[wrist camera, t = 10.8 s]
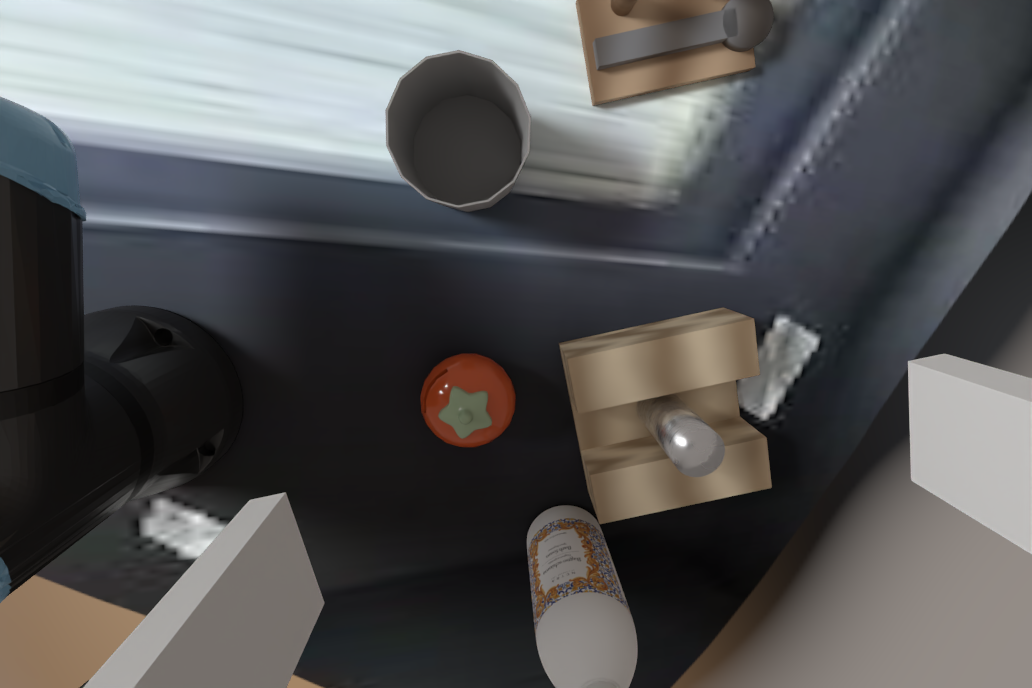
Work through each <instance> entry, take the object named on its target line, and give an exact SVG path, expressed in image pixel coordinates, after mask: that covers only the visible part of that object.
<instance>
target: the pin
mask: <svg viewBox="0 0 1032 688" xmlns="http://www.w3.org/2000/svg"><path fill="white" fill-rule="evenodd" d="M637 413H638V416H639V418H640V419H641V421H642V422H643V423H644V425H645V426H646V427H647V429H648V430H649V431H650V433H651V434H652V435H653V437H654V438H655V439H656V441H657V442H658V443H659V445H660V446H661V447H662V449H663V450H664V452H665V453H666V454H667V456H668V457H669V458H670V460H671V461H672V462H673V464H674V465H675V466H676V468H677V469H678V470H679V471H680V472H681V473H683V474H685V475H687V476H690V477H702V476H706V475H708V474H710V473H712V472H713V471H715V470H716V469H717V468H718V467H719V466H720V464H721V463H722V461H723V458H724V455H725V445H724V442H723V440H722V438H721V437H720V436H719V435H718V434H717V433H716V432H715V431H714V430H713V429H712V428H711V427H710V426H709V425H708V424H707V423H706V422H704V421H703V420H702V419H701V418H700V417H699V416H698V415H697V414H696V413H695V412H694V411H693V410H692V409H691V408H690V407H689V406H687V405H686V404H685V403H684V402H683V401H682V400H681V399H680V398H679V397H678V396H677V395H676V394H675V393H673V394H669V395H664V396H659V397H655V398H650V399H645V400H641V401H638V403H637Z"/></svg>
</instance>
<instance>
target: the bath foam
mask: <svg viewBox="0 0 1032 688" xmlns="http://www.w3.org/2000/svg"><path fill="white" fill-rule="evenodd" d="M527 553H528V565H529V575H530V585H531V595H532V605H533V616H534V626H535V636H536V644H537V648H538V652H539V656H540V659H541V662H542V665H543V667H544V669H545V671H546V673H547V675H548V677H549V679H550V680H551V682H552V683H553V685H554V686H555V687H556V688H629V686H630V683H631V680H632V678H633V675H634V671H635V667H636V662H637V637H636V631H635V625H634V621H633V618H632V615H631V613H630V610H629V607H628V604H627V601H626V598H625V595H624V592H623V590H622V587H621V584H620V581H619V578H618V575H617V572H616V570H615V567H614V564H613V561H612V558H611V555H610V552H609V550H608V547H607V544H606V541H605V539H604V536H603V533H602V530H601V528H600V525H599V523H598V522H597V520H596V519H595V518H594V517H593V516H592V515H591V514H590V513H589V512H587V511H586V510H584V509H582V508H579V507H576V506H570V505H562V506H556V507H552V508H550V509H548V510H546V511H544V512H543V513H541V514H540V515H539V516H538V517H537V518H536V519H535V520H534V521H533V523H532V524H531V526H530V528H529V531H528V534H527Z"/></svg>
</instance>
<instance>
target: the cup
mask: <svg viewBox="0 0 1032 688" xmlns="http://www.w3.org/2000/svg"><path fill="white" fill-rule="evenodd" d="M530 126H531V116H530V114H529V111H528V109H527V106H526V104H525V101H524V99H523V96H522V94H521V91H520V89H519V86H518V84H517V83H516V82H515V81H514V80H513V79H512V78H511V77H509V76H508V75H507V74H506V73H505V72H504V71H503V70H502V69H501V68H500V67H499V66H498V65H497V64H496V63H495V62H494V61H493V60H490V59H487V58H484V57H480V56H477V55H474V54H470V53H467V52H464V51H460V50H457V51H452V52H447V53H442V54H437V55H432V56H427V57H425V58H424V59H423V60H421V61H420V62H419V63H418V64H417V65H415V66H414V67H413V68H412V69H411V70H409V71H408V72H407V73H406V74H404V75H403V76H402V77H401V78H400V79H399V81H398V83H397V86H396V88H395V90H394V92H393V95H392V97H391V99H390V102H389V104H388V106H387V108H386V146H387V148H388V150H389V153H390V155H391V157H392V159H393V161H394V163H395V165H396V167H397V170H398V172H399V174H400V176H401V178H403V179H404V180H405V181H406V182H407V183H408V184H410V185H411V186H412V187H413V188H414V189H415V190H417V191H418V192H419V193H420V194H421V195H422V196H424V197H425V198H426V199H428V200H430V201H433V202H435V203H438V204H441V205H443V206H447V207H451V208H454V209H458V210H462V211H465V212H470V211H475V210H480V209H485V208H490V207H492V206H493V205H494V204H496V203H497V202H498V201H500V200H501V199H502V198H503V197H505V196H506V195H507V194H509V193H510V191H511V189H512V187H513V185H514V183H515V181H516V179H517V177H518V175H519V173H520V171H521V169H522V167H523V165H524V163H525V161H526V158H527V156H528V154H529V152H530Z"/></svg>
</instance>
